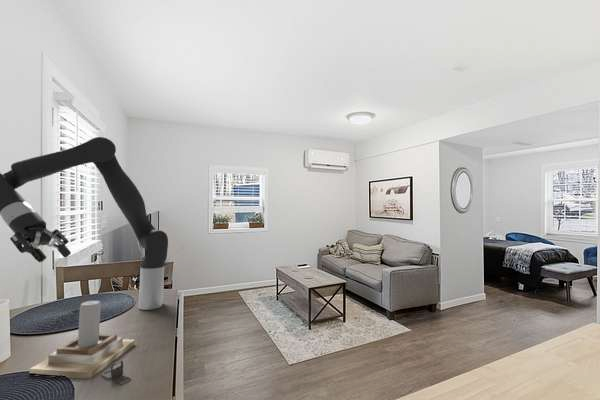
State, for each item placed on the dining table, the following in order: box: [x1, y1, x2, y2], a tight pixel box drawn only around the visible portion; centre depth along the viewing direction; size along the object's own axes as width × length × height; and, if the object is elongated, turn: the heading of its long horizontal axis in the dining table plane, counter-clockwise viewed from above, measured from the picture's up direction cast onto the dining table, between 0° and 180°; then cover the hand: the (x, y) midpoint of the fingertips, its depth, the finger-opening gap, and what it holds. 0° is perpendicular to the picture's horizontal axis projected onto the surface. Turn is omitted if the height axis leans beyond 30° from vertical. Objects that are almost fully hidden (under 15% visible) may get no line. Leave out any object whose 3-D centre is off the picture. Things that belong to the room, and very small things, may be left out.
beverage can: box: [77, 299, 102, 348], centre depth 81 cm, size 5×5×12 cm
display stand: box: [28, 333, 136, 379], centre depth 80 cm, size 18×16×5 cm
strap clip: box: [101, 360, 132, 387], centre depth 72 cm, size 8×3×4 cm, turn 62°
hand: (56, 257), depth 88 cm, fingers open, 8 cm apart
